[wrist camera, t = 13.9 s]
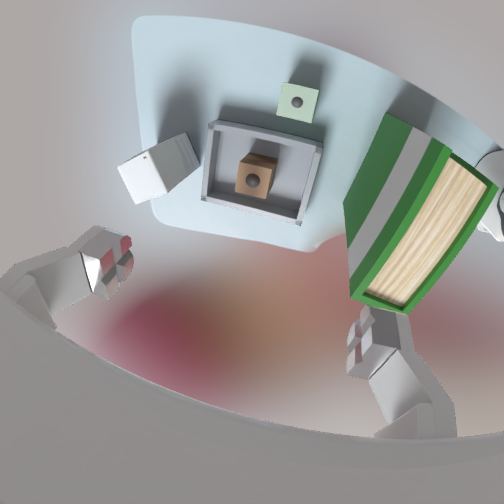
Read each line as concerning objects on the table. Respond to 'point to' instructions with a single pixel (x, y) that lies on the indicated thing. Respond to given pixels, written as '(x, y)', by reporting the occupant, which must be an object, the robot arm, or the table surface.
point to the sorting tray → (268, 144)
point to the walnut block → (256, 175)
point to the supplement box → (159, 168)
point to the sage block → (297, 102)
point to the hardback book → (409, 215)
